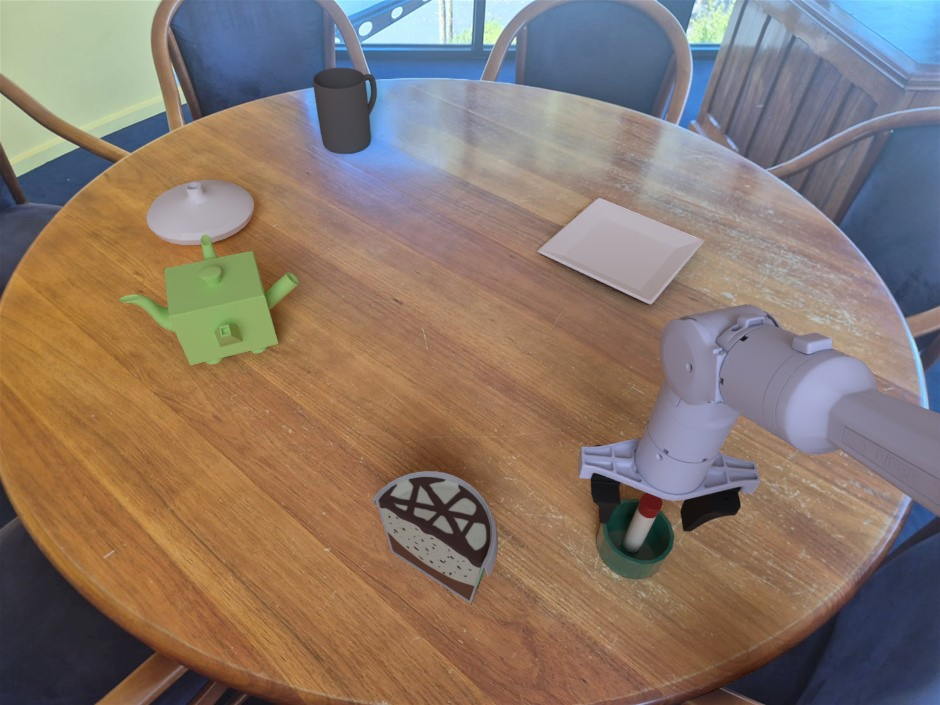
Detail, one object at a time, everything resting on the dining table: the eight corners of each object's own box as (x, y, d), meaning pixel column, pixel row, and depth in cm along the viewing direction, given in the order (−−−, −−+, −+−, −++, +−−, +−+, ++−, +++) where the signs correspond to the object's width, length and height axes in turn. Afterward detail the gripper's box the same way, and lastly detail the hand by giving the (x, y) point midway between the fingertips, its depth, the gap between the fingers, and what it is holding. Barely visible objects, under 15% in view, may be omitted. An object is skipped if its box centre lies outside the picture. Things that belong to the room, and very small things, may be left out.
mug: (348, 160, 112) (340, 94, 103) (312, 144, 115) (300, 79, 106) (396, 131, 120) (392, 67, 111) (361, 117, 123) (354, 54, 114)
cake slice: (516, 559, 61) (526, 509, 54) (484, 613, 57) (489, 566, 50) (415, 498, 65) (411, 444, 58) (379, 544, 62) (369, 492, 54)
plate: (535, 261, 93) (536, 250, 92) (596, 206, 104) (598, 195, 102) (647, 314, 86) (651, 303, 84) (701, 250, 96) (705, 239, 95)
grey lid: (136, 221, 98) (119, 181, 92) (230, 187, 105) (219, 148, 100) (178, 270, 90) (162, 230, 84) (276, 230, 97) (267, 190, 92)
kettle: (147, 358, 78) (112, 291, 70) (218, 290, 87) (194, 223, 79) (248, 394, 74) (224, 327, 66) (311, 319, 84) (296, 252, 75)
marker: (644, 548, 62) (666, 505, 55) (629, 556, 61) (649, 513, 55) (633, 532, 63) (654, 488, 57) (618, 539, 62) (636, 496, 56)
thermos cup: (678, 562, 61) (688, 546, 59) (621, 591, 59) (629, 575, 57) (638, 506, 65) (646, 489, 63) (583, 530, 63) (589, 514, 61)
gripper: (767, 400, 50) (714, 487, 60) (588, 385, 51) (565, 474, 61) (789, 474, 46) (728, 556, 56) (592, 457, 46) (566, 540, 56)
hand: (643, 517), depth 58 cm, fingers open, 7 cm apart
